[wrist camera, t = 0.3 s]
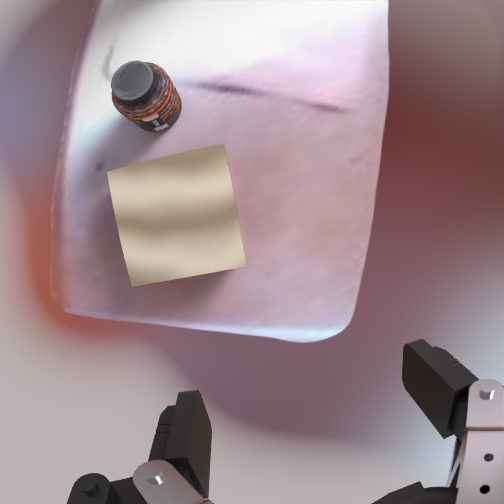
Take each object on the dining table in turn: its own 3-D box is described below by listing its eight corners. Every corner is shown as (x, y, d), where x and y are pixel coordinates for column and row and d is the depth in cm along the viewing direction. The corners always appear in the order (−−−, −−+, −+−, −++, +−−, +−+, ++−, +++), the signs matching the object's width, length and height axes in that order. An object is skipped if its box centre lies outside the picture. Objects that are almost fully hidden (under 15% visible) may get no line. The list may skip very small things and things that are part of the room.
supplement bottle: (178, 134, 36) (157, 113, 25) (131, 131, 35) (94, 112, 24) (186, 87, 35) (169, 51, 23) (139, 85, 34) (107, 52, 23)
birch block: (128, 173, 36) (106, 171, 29) (226, 152, 36) (224, 144, 30) (148, 270, 39) (131, 286, 32) (244, 252, 39) (246, 266, 32)
